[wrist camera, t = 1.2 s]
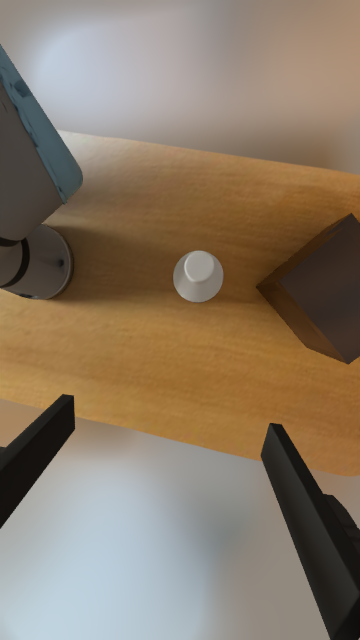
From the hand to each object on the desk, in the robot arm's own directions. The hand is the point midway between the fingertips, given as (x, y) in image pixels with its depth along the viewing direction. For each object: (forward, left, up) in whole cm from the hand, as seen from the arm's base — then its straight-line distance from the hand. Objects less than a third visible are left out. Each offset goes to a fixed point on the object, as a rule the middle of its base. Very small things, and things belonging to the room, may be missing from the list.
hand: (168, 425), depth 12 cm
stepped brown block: (+8, +26, -26) cm, 38 cm away
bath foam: (-7, +9, -27) cm, 29 cm away
